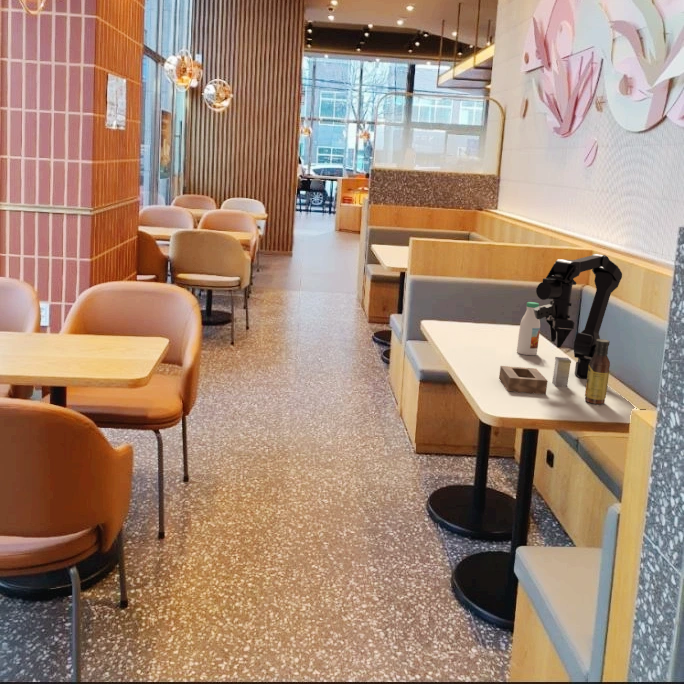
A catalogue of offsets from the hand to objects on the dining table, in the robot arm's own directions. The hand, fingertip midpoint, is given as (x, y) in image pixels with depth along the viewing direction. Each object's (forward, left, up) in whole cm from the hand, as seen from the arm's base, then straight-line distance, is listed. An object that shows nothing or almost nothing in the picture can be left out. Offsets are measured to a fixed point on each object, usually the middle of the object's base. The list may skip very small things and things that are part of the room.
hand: (555, 344), depth 279 cm
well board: (+12, +9, -13) cm, 19 cm away
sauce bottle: (-8, +22, -13) cm, 27 cm away
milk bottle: (-1, -44, -13) cm, 47 cm away
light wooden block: (-2, +3, -13) cm, 14 cm away
